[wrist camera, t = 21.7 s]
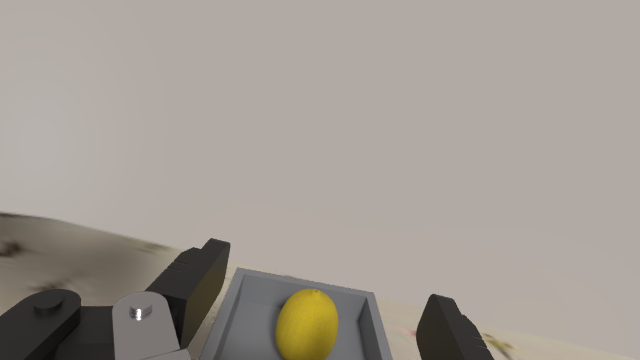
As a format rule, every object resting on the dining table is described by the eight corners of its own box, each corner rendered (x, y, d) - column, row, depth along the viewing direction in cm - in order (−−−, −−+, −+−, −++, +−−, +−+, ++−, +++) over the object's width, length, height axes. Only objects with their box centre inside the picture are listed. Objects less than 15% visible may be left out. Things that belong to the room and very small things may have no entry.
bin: (175, 449, 22) (181, 400, 21) (231, 300, 38) (237, 267, 36) (395, 480, 24) (414, 436, 22) (363, 324, 39) (373, 292, 38)
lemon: (306, 333, 34) (323, 268, 32) (337, 376, 30) (360, 304, 28) (258, 349, 31) (274, 277, 28) (286, 400, 27) (307, 321, 24)
